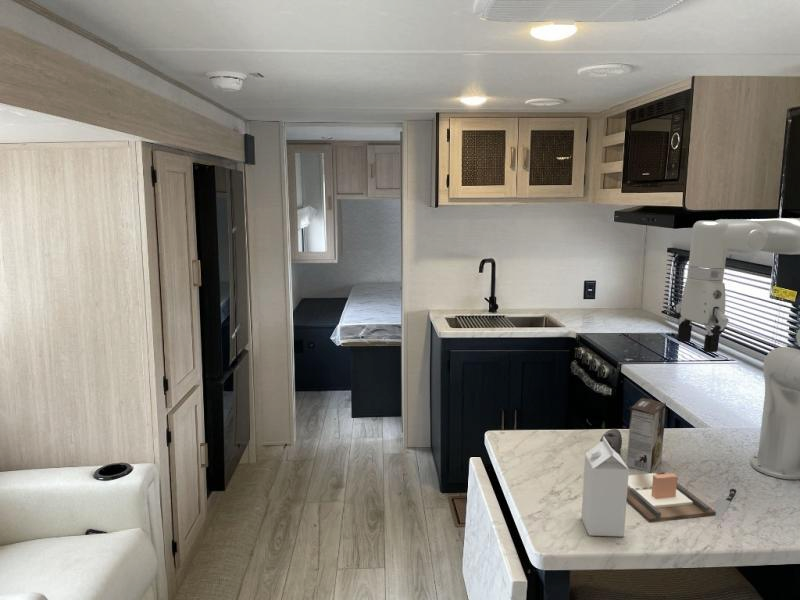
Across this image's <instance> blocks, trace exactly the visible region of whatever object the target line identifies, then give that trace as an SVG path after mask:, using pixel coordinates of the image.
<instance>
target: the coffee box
mask: <svg viewBox="0 0 800 600" xmlns="http://www.w3.org/2000/svg"><path fill="white" fill-rule="evenodd" d="M666 404H667V403H665V402H661V401H657V400H654V399H650V398H645V397H640V399H639V400H638V401H636V403H634V404H633V405H632V406H631V407H630V415H629V416H630V417H629V431H628V432H629V433H628V444H627V445H628V446H627V458H626V466H627V467H628V468H629V467H630V468H633V469H637V470H639V471H643V472H646V473H649V474H650V473H652V472H653V471H654V469H656V468H657V466H658V465H659V464H660V463H661V462H662V459H663V457H662V456H663V448H664V436H665V435H664V433H665V419H666V409H667V407H666V406H667V405H666Z"/></svg>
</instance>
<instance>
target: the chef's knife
mask: <svg viewBox="0 0 800 600" xmlns="http://www.w3.org/2000/svg"><path fill="white" fill-rule="evenodd" d="M736 492H737V489H736V488H731V489H729V493H728V494H729V495H728V496H727V497H726V499H720V498H717V499H716V500H715V503H714V507H713V508H712V509H713V510H714V511H716V515H714V518H715V517H716V518H715V519H716V521H721V520H722V519H723V517H724V516H725V514H726V512H727V510H728V509H729V506H730V504H731V502H732V500H733V499H734V496H735V494H736Z"/></svg>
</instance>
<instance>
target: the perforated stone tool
mask: <svg viewBox="0 0 800 600" xmlns="http://www.w3.org/2000/svg"><path fill="white" fill-rule="evenodd" d="M603 436H604V437H605V439H606V441H607V442H608V444H609V445H610V447H611V448H612V449H613V450H614V451H615V452H617V453H618V454H619V455H620V453H621V449H622V445H623V437H622V433H621V431H620V430H619V429H617V428H611V429H609V430H607V431H606V432H605V433H603V434H602V436H601V438H600V440H599V441H600V442H602V441H603Z"/></svg>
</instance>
